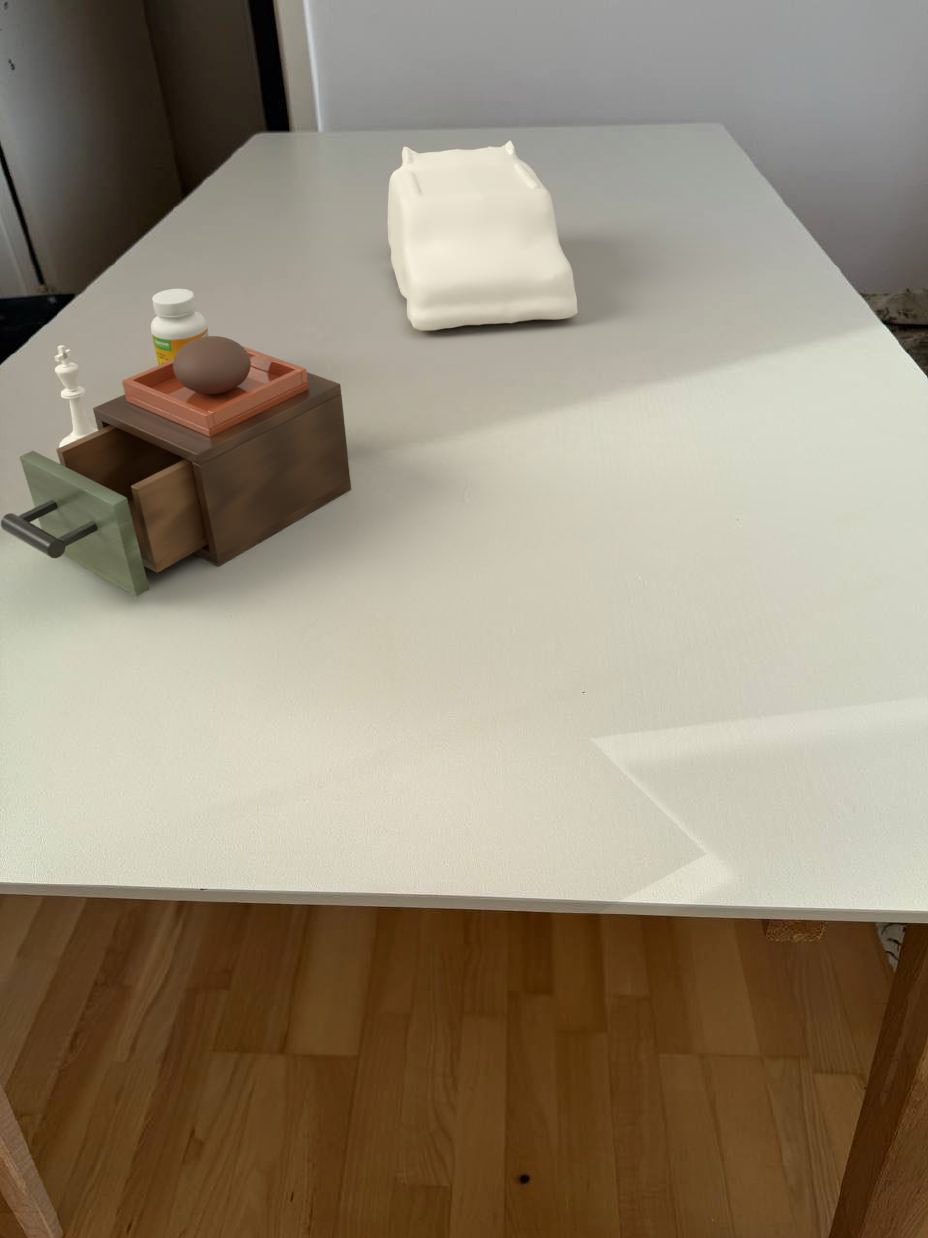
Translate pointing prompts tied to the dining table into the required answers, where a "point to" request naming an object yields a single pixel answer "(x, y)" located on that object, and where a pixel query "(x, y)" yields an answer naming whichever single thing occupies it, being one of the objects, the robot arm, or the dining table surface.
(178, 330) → the supplement bottle
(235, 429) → the cabinet
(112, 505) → the drawer
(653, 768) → the dining table surface
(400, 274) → the flour sack
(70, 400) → the chess piece
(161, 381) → the orange square tray
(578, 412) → the dining table surface
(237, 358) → the egg
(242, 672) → the dining table surface
